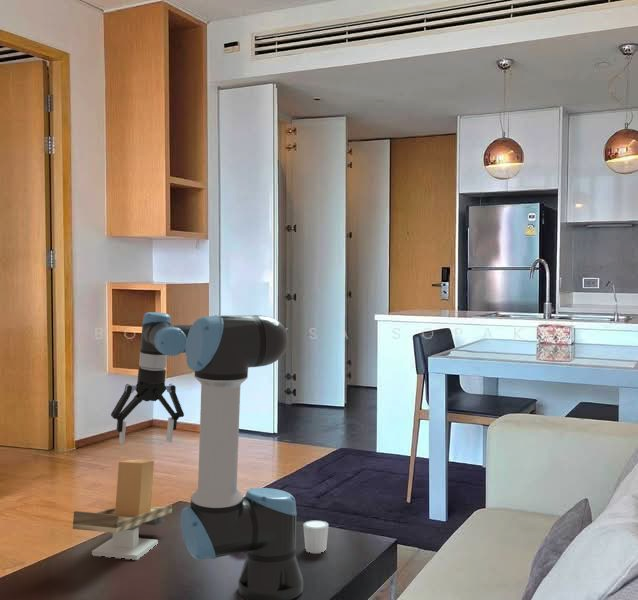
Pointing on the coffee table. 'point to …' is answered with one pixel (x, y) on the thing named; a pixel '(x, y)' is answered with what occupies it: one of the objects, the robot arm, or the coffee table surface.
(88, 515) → the beam
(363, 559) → the coffee table surface
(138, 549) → the pivot stand
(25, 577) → the coffee table surface
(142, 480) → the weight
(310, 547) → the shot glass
